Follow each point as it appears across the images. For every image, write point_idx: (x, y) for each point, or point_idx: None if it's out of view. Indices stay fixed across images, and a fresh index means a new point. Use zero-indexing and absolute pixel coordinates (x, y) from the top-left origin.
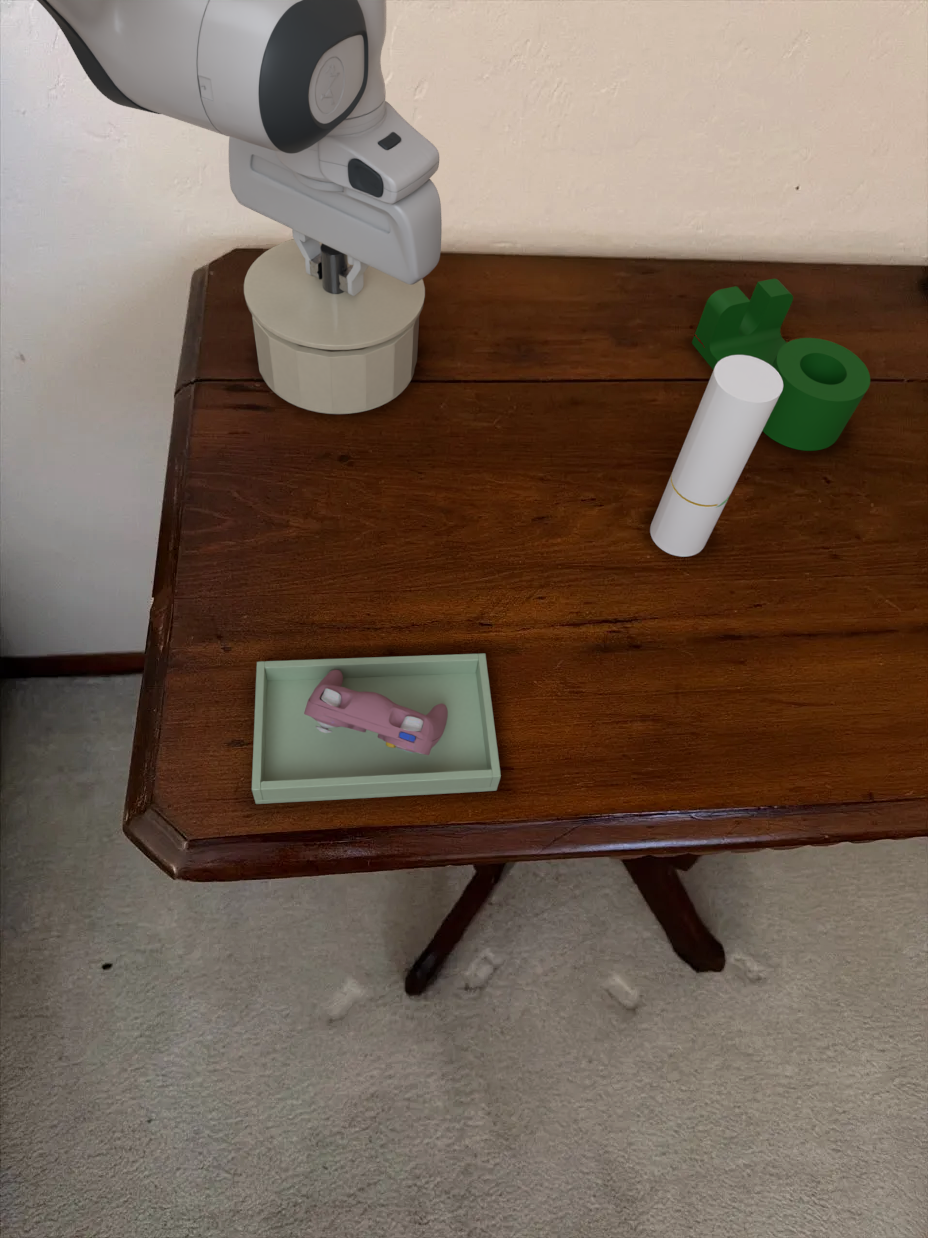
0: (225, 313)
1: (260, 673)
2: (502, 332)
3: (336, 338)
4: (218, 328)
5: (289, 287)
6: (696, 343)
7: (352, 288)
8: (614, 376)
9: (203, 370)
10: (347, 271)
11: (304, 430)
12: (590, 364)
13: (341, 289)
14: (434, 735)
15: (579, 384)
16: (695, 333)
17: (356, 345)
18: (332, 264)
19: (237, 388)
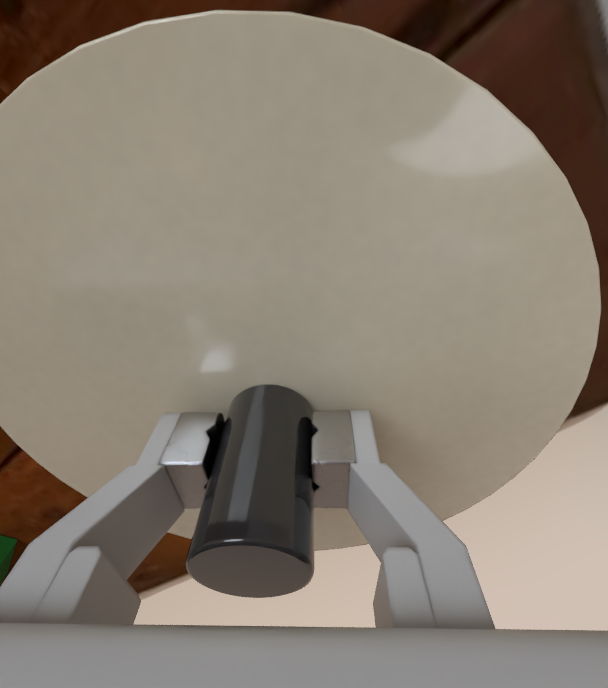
0: None
1: None
2: None
3: (12, 205)
4: (578, 197)
5: (393, 328)
6: (5, 542)
7: (151, 435)
8: (3, 476)
9: (555, 15)
10: (195, 486)
11: (166, 17)
12: (38, 476)
13: (208, 413)
14: None
15: (8, 448)
16: (6, 553)
17: None
18: (216, 496)
19: (424, 25)
